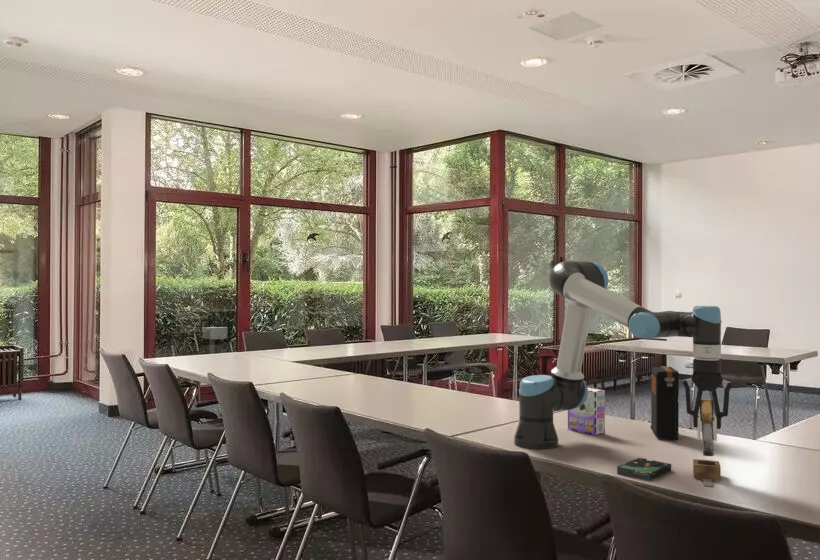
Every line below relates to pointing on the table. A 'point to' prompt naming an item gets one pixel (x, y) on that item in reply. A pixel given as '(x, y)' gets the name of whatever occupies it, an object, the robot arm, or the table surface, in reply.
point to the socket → (706, 469)
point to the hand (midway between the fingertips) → (706, 439)
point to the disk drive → (644, 469)
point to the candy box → (589, 414)
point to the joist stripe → (707, 482)
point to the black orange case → (665, 402)
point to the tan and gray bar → (707, 426)
